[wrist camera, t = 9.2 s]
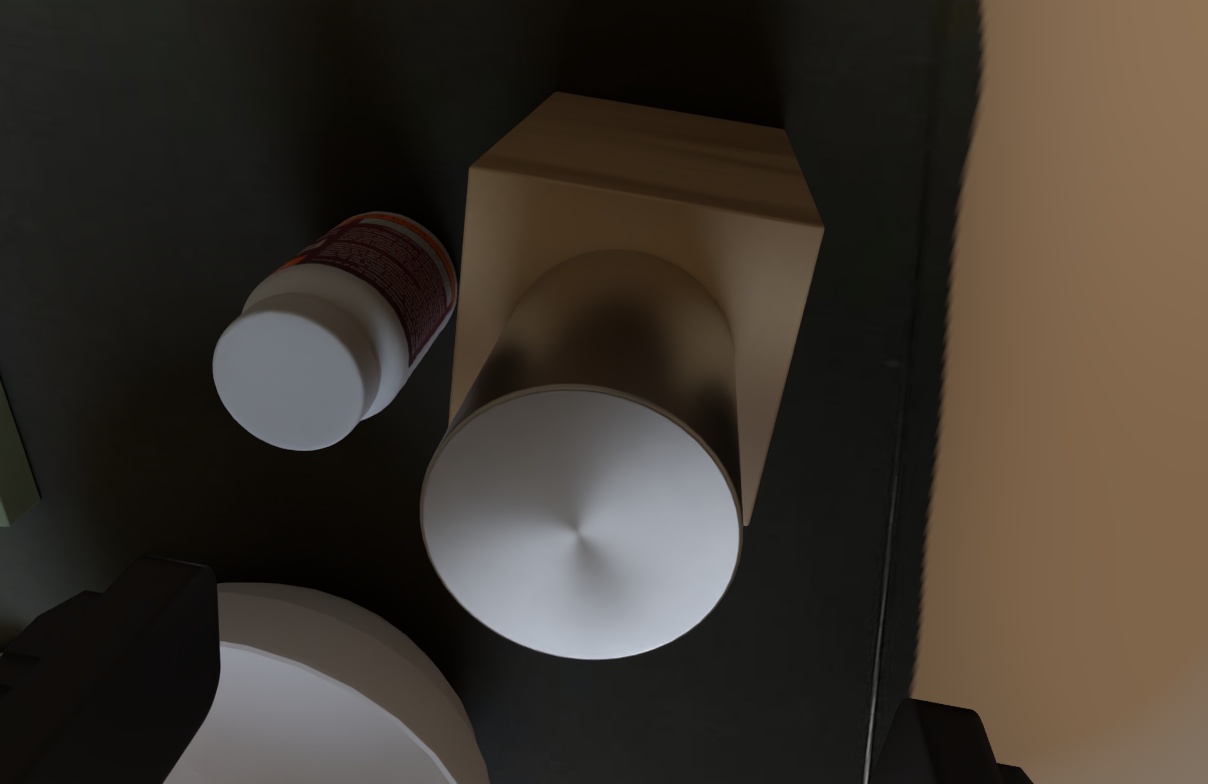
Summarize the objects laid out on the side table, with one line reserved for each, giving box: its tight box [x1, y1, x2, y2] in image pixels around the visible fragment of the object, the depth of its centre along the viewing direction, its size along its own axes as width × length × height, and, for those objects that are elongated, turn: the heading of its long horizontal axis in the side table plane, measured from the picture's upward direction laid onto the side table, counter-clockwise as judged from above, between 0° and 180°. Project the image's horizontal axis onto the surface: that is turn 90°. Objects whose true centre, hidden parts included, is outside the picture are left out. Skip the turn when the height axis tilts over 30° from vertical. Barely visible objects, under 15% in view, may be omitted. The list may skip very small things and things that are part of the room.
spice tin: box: [420, 250, 743, 660], centre depth 17 cm, size 5×5×6 cm
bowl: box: [163, 583, 489, 784], centre depth 36 cm, size 18×18×7 cm
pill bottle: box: [213, 211, 457, 451], centre depth 27 cm, size 5×5×8 cm
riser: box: [448, 92, 824, 526], centre depth 24 cm, size 7×7×11 cm
